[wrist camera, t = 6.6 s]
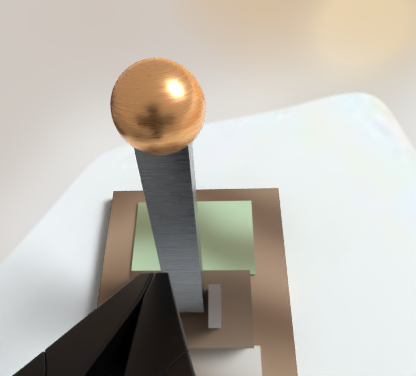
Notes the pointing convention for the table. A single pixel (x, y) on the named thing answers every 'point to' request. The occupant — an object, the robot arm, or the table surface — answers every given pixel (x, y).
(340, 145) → the table surface
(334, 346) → the table surface
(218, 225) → the switch base
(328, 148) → the table surface
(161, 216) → the toggle lever
